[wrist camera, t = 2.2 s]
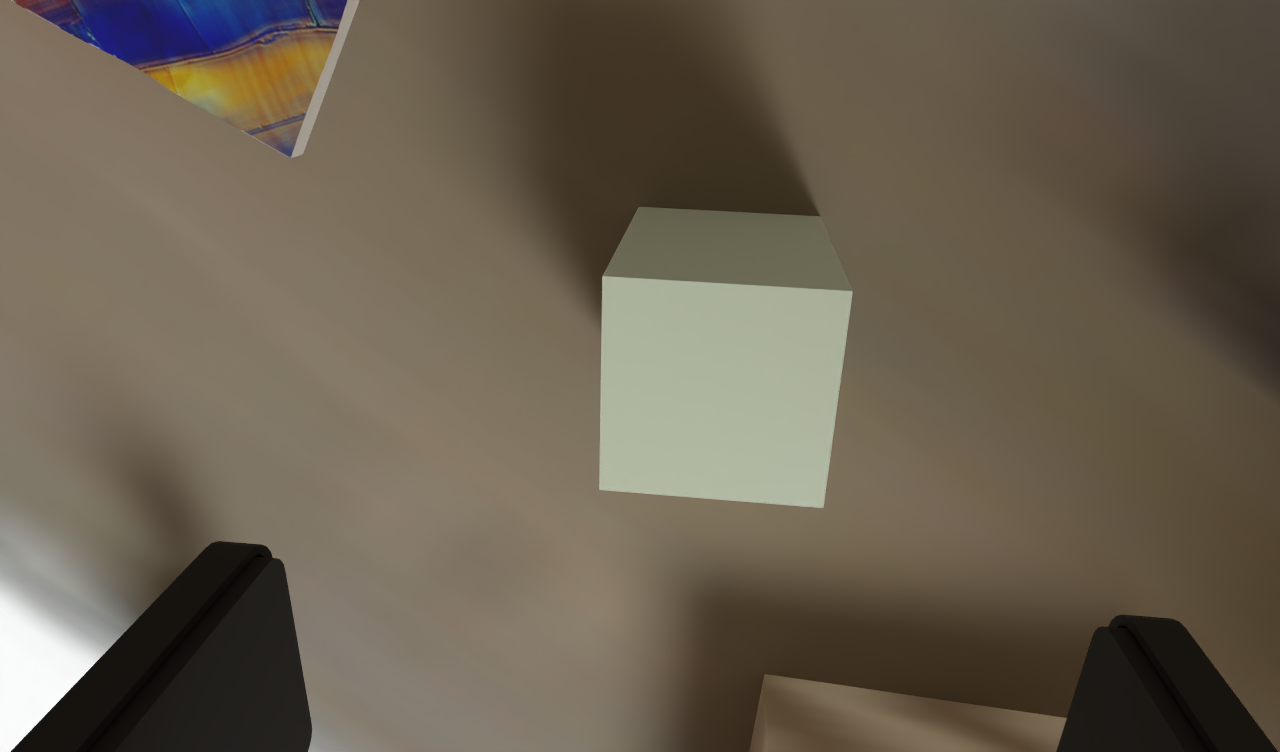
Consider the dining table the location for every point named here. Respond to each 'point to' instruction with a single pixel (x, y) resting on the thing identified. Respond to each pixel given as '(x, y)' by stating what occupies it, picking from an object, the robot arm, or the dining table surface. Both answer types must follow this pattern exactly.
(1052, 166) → the dining table surface
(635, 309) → the sage block
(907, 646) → the dining table surface
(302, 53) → the relief map
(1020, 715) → the birch block
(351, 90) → the dining table surface
